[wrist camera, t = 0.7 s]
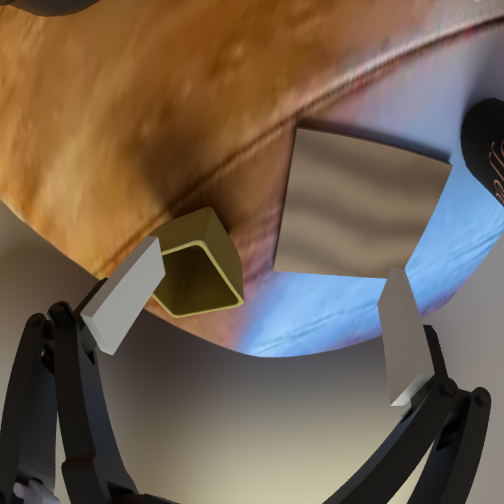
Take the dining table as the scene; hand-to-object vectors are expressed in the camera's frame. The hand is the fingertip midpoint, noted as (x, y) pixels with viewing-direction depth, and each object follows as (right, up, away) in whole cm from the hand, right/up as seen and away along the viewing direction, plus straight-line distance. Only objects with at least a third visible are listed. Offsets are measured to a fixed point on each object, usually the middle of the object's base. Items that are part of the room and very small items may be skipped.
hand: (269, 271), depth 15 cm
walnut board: (+11, +5, +15) cm, 19 cm away
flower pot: (-7, +4, +17) cm, 19 cm away
